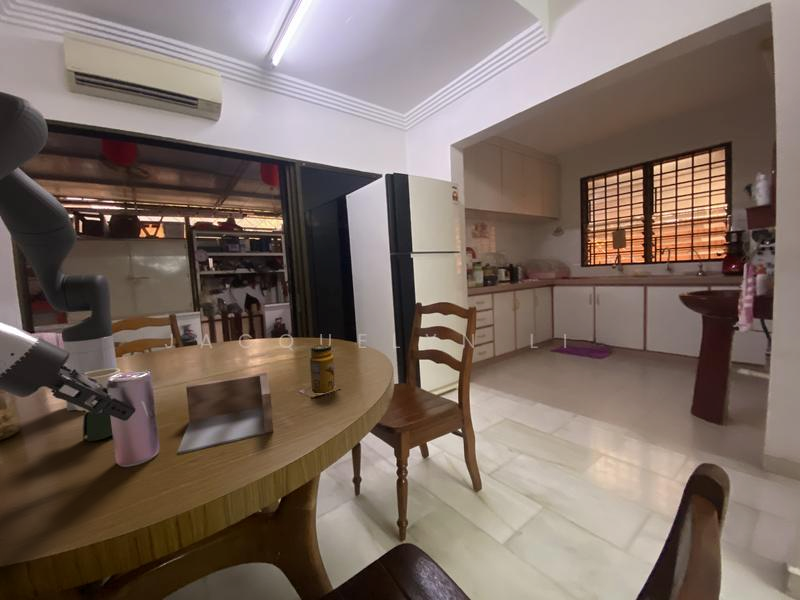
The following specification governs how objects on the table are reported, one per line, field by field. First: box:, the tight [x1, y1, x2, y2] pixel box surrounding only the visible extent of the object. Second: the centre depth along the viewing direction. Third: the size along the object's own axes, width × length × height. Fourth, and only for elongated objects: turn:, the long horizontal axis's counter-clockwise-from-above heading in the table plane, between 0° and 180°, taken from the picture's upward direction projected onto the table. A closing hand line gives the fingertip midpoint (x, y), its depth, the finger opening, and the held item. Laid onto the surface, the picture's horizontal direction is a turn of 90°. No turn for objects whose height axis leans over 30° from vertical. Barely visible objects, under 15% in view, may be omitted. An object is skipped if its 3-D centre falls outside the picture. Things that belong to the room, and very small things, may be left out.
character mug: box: [75, 368, 122, 442], centre depth 65 cm, size 11×7×13 cm, turn 73°
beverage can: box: [107, 369, 161, 468], centre depth 56 cm, size 6×6×15 cm
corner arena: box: [177, 372, 274, 455], centre depth 67 cm, size 16×15×8 cm
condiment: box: [299, 344, 336, 395], centre depth 85 cm, size 7×8×12 cm
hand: (125, 408), depth 55 cm, fingers open, 8 cm apart
